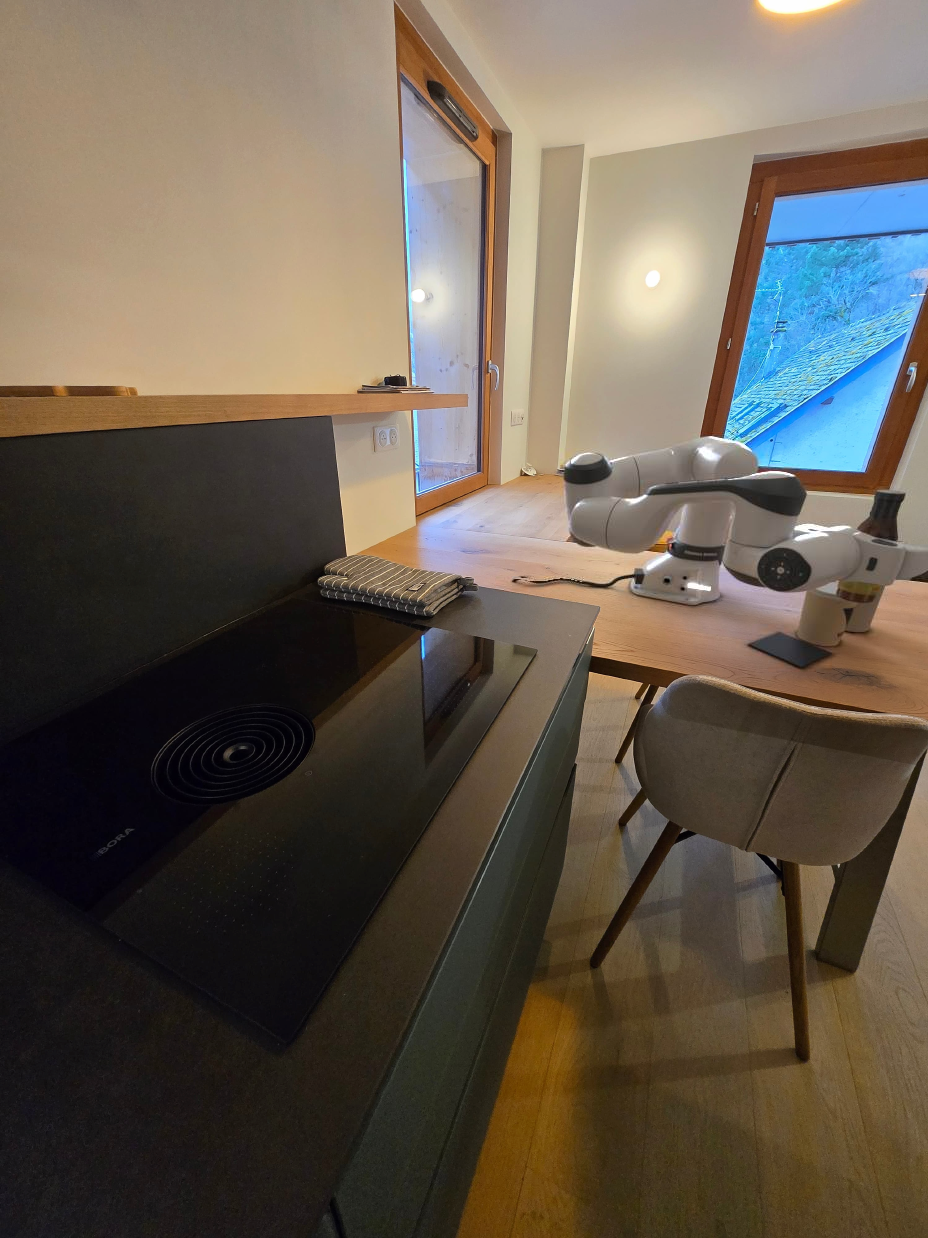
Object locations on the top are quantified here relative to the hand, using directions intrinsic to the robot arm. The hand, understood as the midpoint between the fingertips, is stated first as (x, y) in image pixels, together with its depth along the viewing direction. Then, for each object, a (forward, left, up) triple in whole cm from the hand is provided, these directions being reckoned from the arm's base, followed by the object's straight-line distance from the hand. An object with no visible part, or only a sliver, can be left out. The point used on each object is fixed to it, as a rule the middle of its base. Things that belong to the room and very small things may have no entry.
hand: (876, 540), depth 89 cm
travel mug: (+7, +19, -25) cm, 32 cm away
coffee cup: (-1, +10, -25) cm, 27 cm away
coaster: (-8, +2, -25) cm, 26 cm away
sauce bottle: (-1, -1, -11) cm, 11 cm away
